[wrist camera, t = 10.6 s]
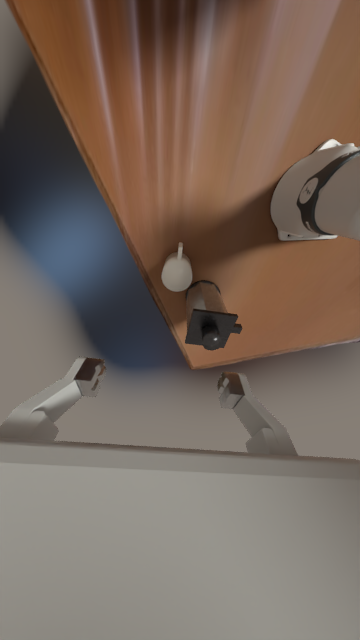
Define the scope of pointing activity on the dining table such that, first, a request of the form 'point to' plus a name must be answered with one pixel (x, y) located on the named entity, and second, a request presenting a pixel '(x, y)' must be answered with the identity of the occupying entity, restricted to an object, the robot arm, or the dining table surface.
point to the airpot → (207, 313)
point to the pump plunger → (211, 338)
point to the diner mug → (177, 271)
